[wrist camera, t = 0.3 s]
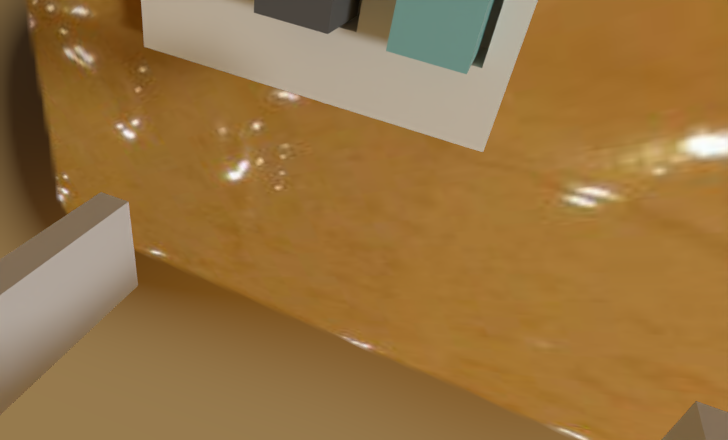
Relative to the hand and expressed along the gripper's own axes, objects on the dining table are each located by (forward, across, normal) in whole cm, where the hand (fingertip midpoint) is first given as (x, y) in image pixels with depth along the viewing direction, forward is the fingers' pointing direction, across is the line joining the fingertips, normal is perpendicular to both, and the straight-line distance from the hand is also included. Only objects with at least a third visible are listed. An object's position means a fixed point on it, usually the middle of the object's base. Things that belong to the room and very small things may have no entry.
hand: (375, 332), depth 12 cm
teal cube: (+21, -3, +3) cm, 21 cm away
